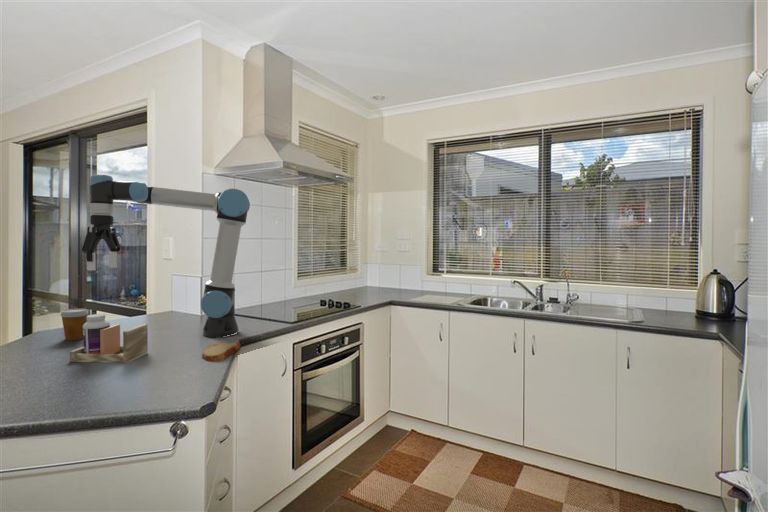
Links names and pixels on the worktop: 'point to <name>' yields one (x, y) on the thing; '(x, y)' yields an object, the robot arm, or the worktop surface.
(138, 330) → the lane
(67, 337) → the disposable coffee cup
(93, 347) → the pill bottle
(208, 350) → the slice of bread
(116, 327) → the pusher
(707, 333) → the worktop surface
